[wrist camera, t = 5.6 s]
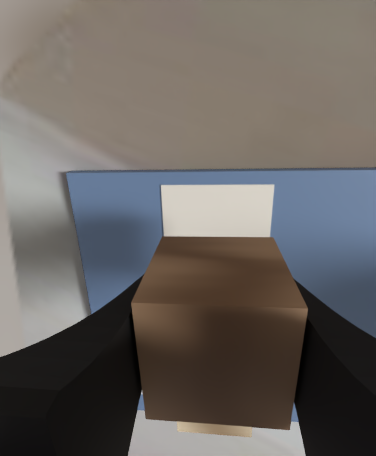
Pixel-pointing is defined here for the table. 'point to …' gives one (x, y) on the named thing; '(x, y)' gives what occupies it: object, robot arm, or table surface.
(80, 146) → the table surface
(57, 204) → the table surface
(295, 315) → the walnut block
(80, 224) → the blueprint board
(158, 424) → the table surface
